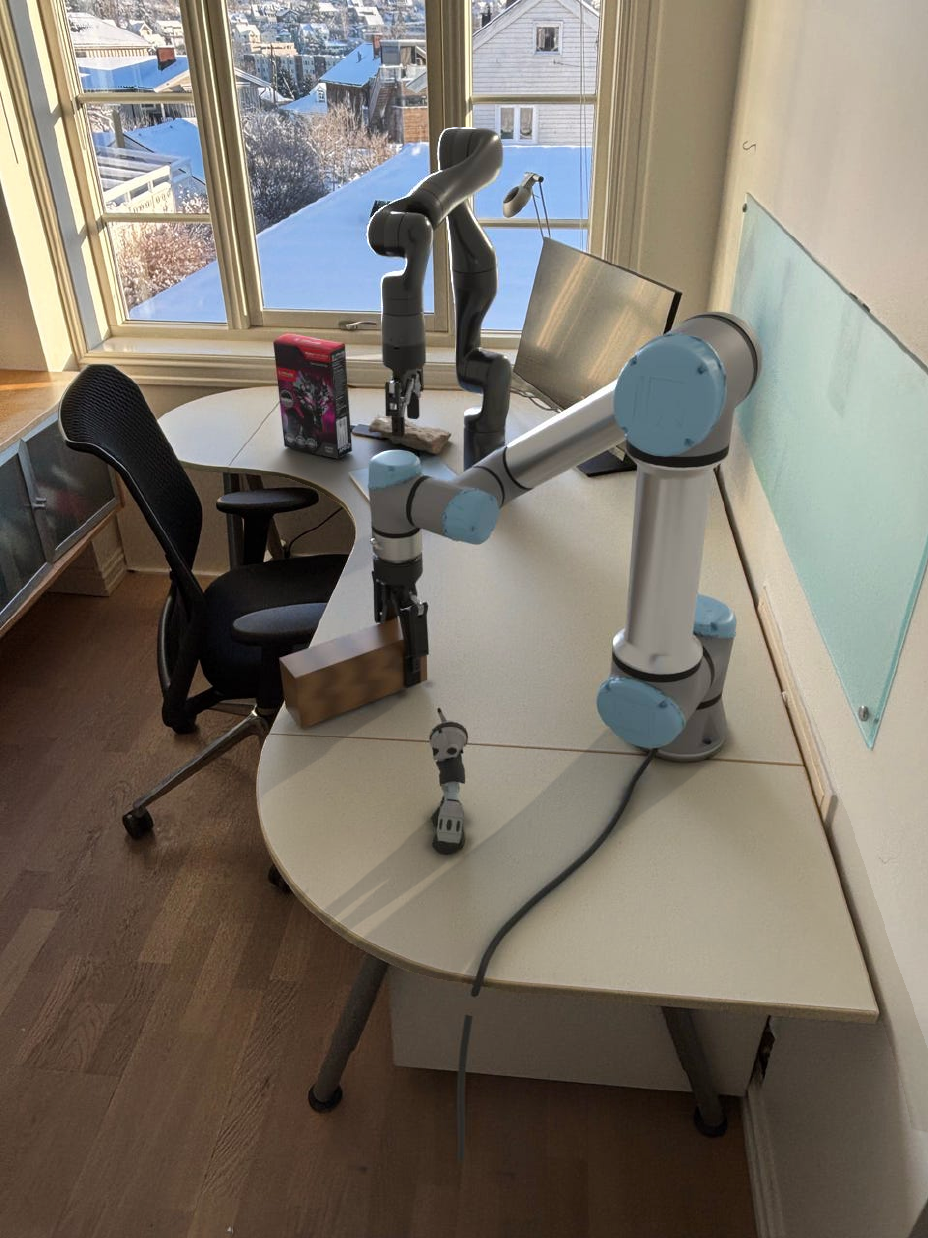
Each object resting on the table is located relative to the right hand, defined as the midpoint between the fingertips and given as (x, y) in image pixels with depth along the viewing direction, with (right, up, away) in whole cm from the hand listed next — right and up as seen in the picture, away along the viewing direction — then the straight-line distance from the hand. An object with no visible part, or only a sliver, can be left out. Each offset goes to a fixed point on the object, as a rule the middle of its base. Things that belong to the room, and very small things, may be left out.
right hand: (402, 673), depth 152 cm
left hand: (0, +44, +15) cm, 46 cm away
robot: (+8, -20, -27) cm, 34 cm away
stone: (-4, +54, +83) cm, 99 cm away
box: (-7, -3, -3) cm, 8 cm away
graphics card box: (-26, +51, +79) cm, 98 cm away
